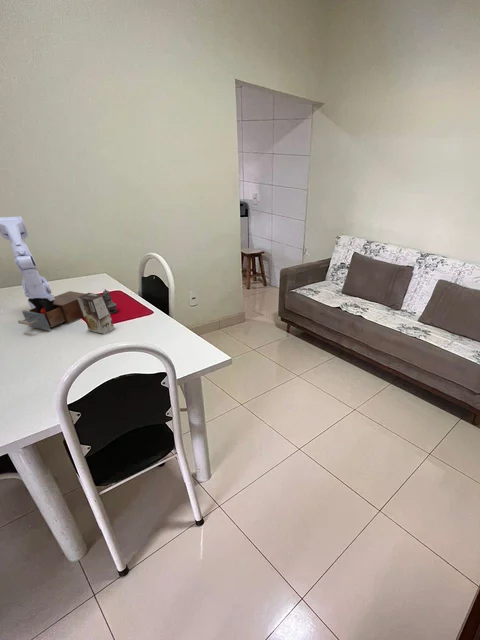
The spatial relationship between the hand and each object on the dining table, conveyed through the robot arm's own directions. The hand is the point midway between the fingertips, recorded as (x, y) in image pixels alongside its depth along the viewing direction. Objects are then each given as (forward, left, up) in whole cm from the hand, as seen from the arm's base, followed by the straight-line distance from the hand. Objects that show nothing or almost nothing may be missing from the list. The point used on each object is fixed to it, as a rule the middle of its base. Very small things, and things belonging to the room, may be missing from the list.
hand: (46, 313), depth 148 cm
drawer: (0, -1, -5) cm, 5 cm away
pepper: (0, 0, -2) cm, 2 cm away
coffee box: (+25, +4, -6) cm, 26 cm away
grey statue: (+14, +22, -6) cm, 27 cm away
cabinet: (0, +11, -6) cm, 13 cm away
